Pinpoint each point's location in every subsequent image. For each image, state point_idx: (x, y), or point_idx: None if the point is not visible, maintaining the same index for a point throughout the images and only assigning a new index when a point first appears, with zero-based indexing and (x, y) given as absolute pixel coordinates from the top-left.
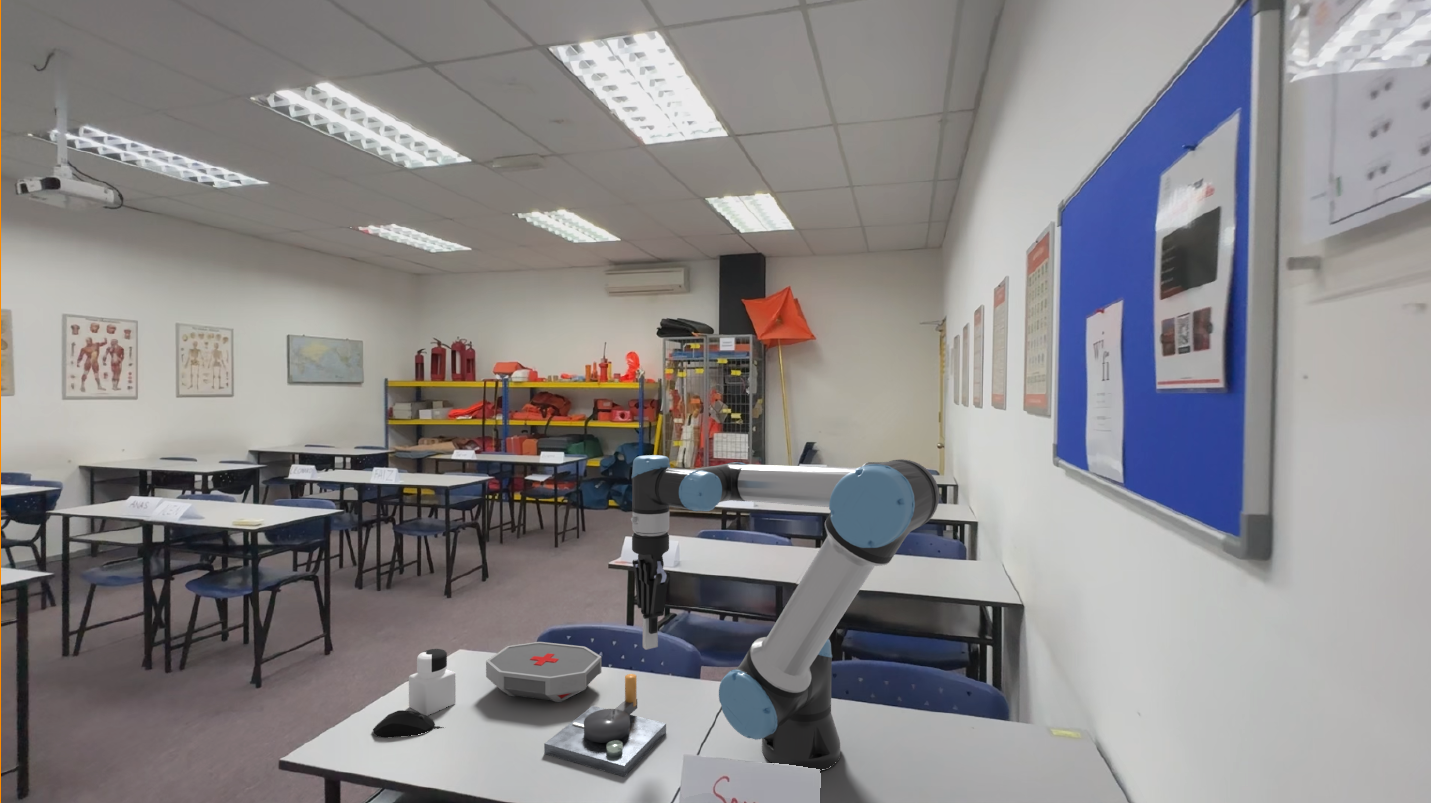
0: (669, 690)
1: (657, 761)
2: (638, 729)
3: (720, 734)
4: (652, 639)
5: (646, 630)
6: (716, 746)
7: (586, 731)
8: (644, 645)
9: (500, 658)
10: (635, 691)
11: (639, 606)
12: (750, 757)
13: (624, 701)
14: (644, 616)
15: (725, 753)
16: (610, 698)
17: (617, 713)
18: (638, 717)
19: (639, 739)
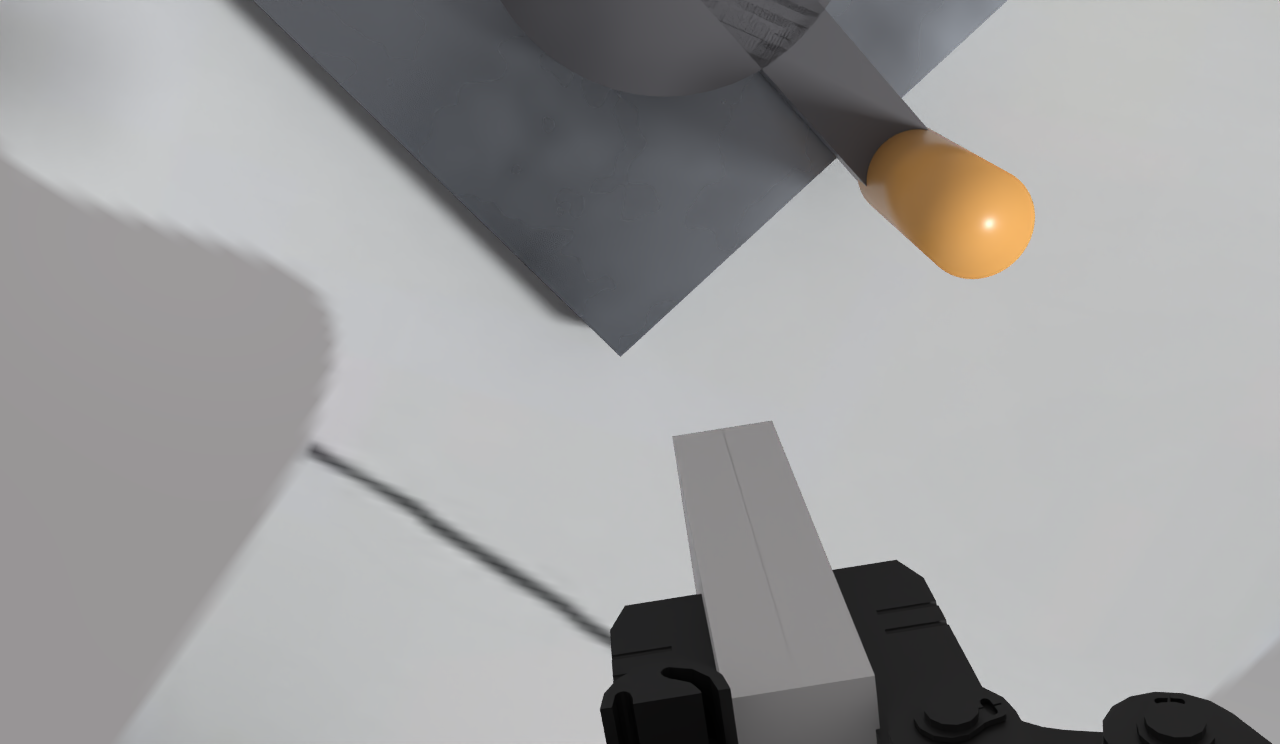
0: (1153, 516)
1: (302, 182)
2: (614, 146)
3: (471, 634)
4: (697, 586)
5: (703, 578)
6: (349, 570)
7: None
8: (713, 448)
9: None
10: (896, 227)
11: (1114, 735)
12: (174, 700)
13: (912, 120)
14: (649, 693)
15: (258, 592)
16: (1275, 84)
17: (742, 12)
18: (783, 192)
19: (477, 117)
